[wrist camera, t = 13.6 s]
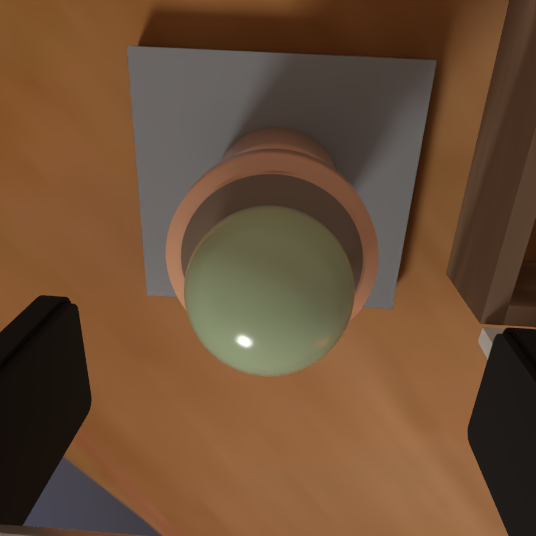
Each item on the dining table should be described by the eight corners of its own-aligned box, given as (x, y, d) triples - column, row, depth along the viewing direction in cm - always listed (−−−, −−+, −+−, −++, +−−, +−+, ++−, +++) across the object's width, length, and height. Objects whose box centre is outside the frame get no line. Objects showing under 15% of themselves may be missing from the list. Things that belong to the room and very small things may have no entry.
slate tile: (427, 59, 21) (436, 60, 19) (386, 295, 26) (391, 308, 25) (137, 45, 21) (126, 45, 20) (154, 282, 26) (146, 295, 25)
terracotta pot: (357, 121, 21) (436, 208, 10) (340, 261, 24) (386, 449, 13) (204, 114, 21) (109, 192, 10) (206, 254, 24) (136, 434, 13)
